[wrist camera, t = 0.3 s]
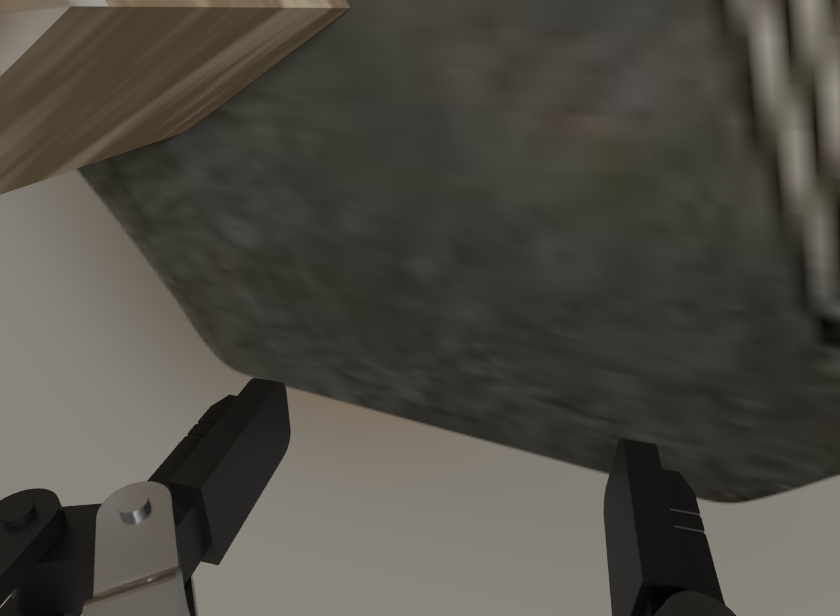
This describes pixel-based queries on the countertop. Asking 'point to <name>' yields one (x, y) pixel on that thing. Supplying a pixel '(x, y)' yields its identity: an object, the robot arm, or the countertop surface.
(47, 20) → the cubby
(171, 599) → the robot arm
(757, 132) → the countertop surface
